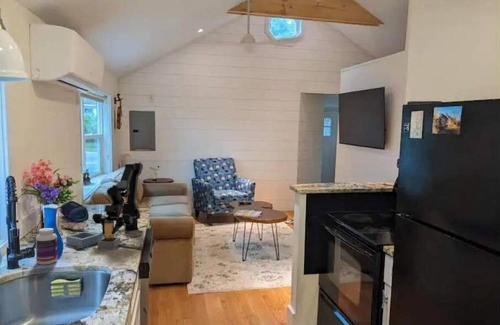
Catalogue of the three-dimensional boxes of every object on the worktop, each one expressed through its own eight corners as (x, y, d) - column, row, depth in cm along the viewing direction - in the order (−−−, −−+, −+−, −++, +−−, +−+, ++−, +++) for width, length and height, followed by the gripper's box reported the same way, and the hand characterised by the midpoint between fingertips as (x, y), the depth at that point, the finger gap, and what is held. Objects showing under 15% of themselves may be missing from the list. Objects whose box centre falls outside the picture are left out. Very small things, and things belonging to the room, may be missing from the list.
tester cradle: (104, 243, 189) (104, 236, 189) (120, 244, 189) (120, 237, 189) (97, 248, 181) (97, 241, 181) (114, 249, 181) (114, 242, 181)
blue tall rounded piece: (70, 232, 207) (70, 196, 206) (56, 237, 198) (55, 199, 196) (50, 229, 212) (49, 194, 210) (35, 233, 203) (34, 197, 201)
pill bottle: (60, 262, 161) (59, 229, 160) (39, 267, 156) (38, 232, 154) (54, 257, 167) (53, 225, 166) (33, 261, 161) (33, 228, 160)
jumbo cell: (112, 244, 188) (113, 219, 187) (114, 247, 185) (114, 221, 183) (103, 245, 186) (103, 219, 185) (105, 248, 182) (105, 221, 181)
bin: (84, 238, 196) (84, 231, 196) (99, 242, 191) (99, 234, 191) (66, 244, 186) (66, 236, 186) (81, 247, 182) (81, 239, 181)
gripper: (93, 197, 187) (83, 224, 177) (130, 198, 187) (123, 226, 177) (100, 209, 196) (91, 236, 186) (135, 211, 196) (128, 237, 186)
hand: (108, 234), depth 183 cm, fingers closed on jumbo cell, 4 cm apart
